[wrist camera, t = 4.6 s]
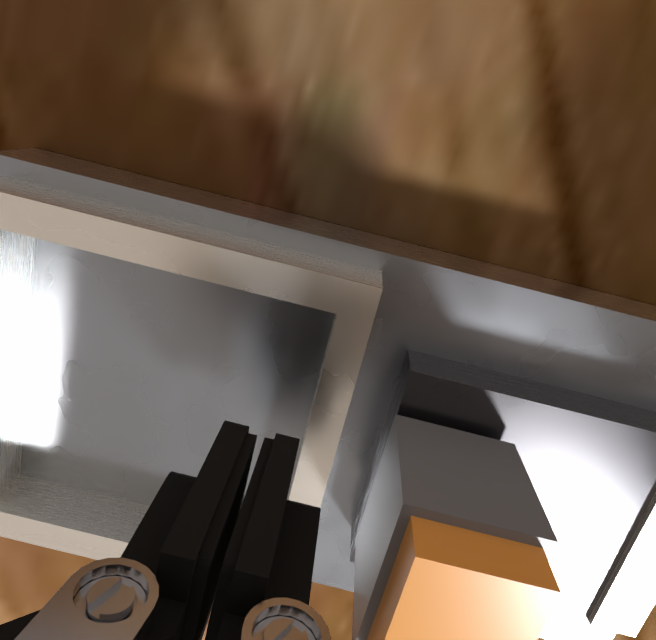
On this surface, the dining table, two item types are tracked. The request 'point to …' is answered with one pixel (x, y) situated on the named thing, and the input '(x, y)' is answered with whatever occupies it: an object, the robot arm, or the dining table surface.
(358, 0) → the dining table surface
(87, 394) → the panel
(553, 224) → the dining table surface
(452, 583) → the toggle
